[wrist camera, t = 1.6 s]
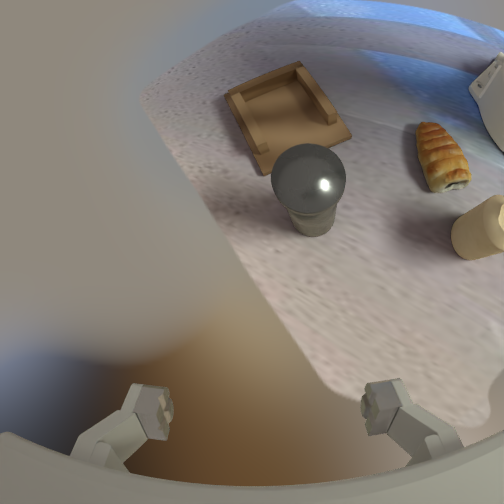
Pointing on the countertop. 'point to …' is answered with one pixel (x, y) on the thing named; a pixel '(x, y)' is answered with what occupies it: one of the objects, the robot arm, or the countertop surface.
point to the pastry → (441, 159)
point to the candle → (480, 230)
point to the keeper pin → (309, 186)
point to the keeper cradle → (284, 114)
